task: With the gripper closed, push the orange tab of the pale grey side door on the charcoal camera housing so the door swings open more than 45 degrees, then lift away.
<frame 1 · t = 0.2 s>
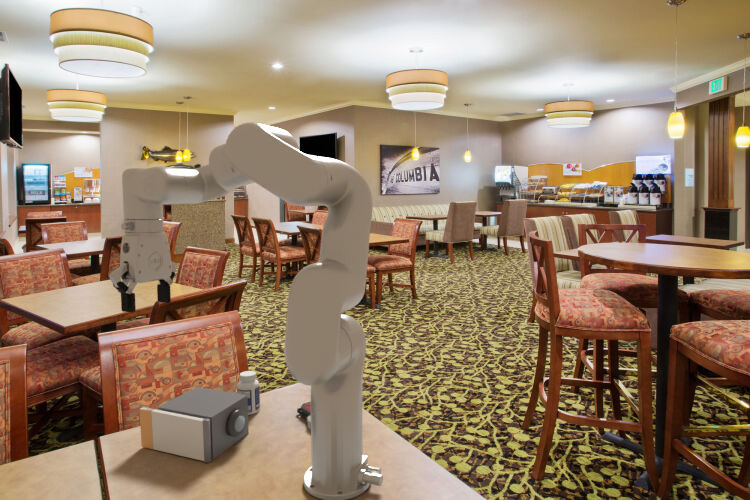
hand: (147, 306, 105), 30 cm above the table, tool pointing down, fingers open, 9 cm apart
side door: (175, 433, 101), point 4 cm above the table, hinge at 0.0°
camera housing: (205, 440, 107), on the table
pill bottle: (249, 411, 122), on the table
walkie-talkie: (327, 428, 114), on the table
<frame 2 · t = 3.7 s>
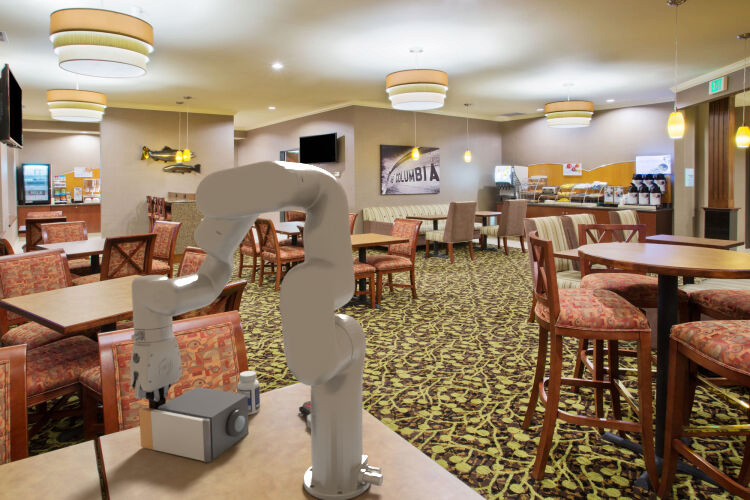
hand: (158, 416, 106), 6 cm above the table, tool pointing down, fingers closed
side door: (174, 433, 101), point 4 cm above the table, hinge at 0.5°, touching gripper
everything else where it was.
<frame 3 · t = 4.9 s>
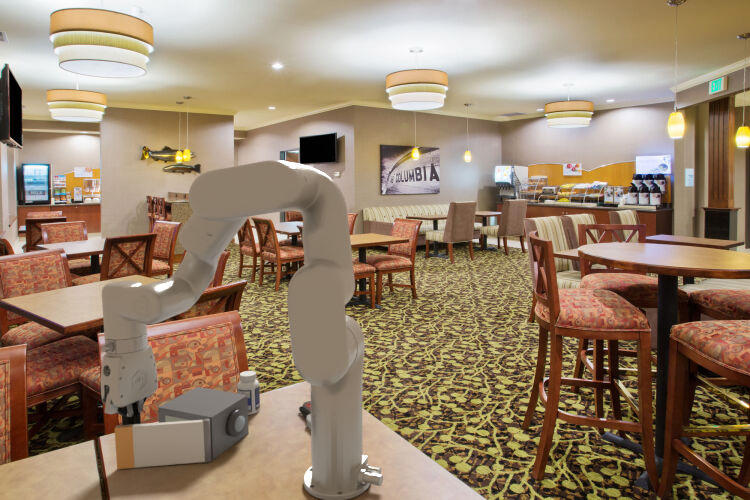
hand: (132, 432, 98), 6 cm above the table, tool pointing down, fingers closed
side door: (164, 443, 97), point 4 cm above the table, hinge at 29.8°, touching gripper
everything else where it was.
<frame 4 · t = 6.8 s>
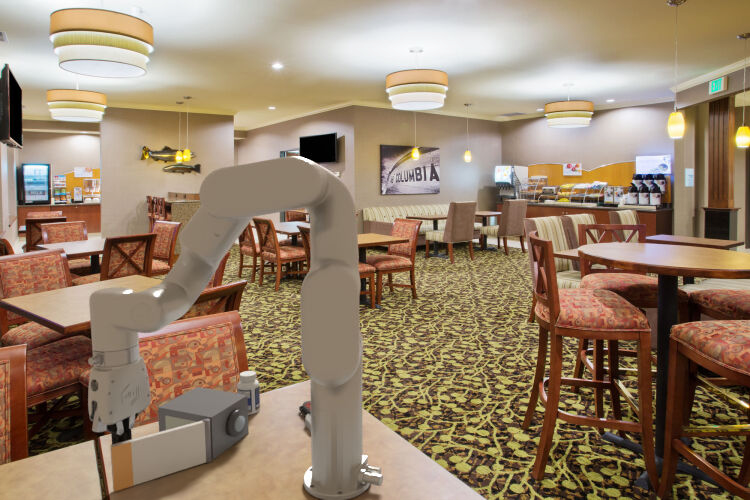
hand: (122, 450, 91), 6 cm above the table, tool pointing down, fingers closed
side door: (164, 453, 93), point 4 cm above the table, hinge at 57.6°
everything else where it was.
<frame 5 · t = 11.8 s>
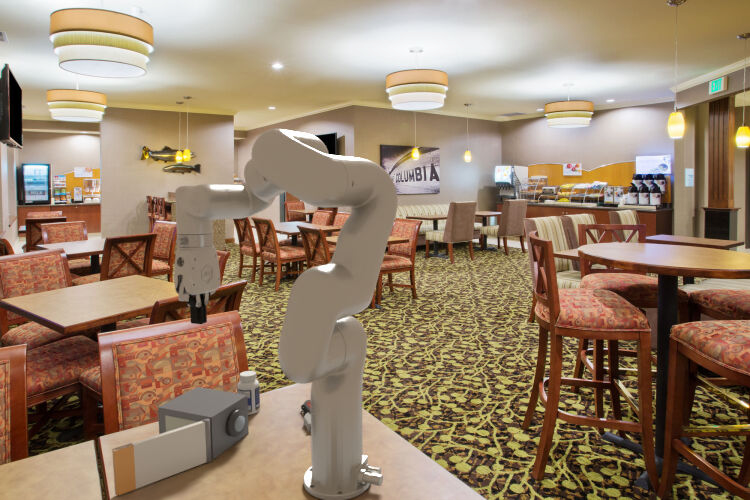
hand: (198, 322, 110), 25 cm above the table, tool pointing down, fingers closed
side door: (165, 454, 93), point 4 cm above the table, hinge at 63.7°
at the end: side door at +64° (first picture: +0°); pill bottle moved 0.2 cm from its start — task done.
